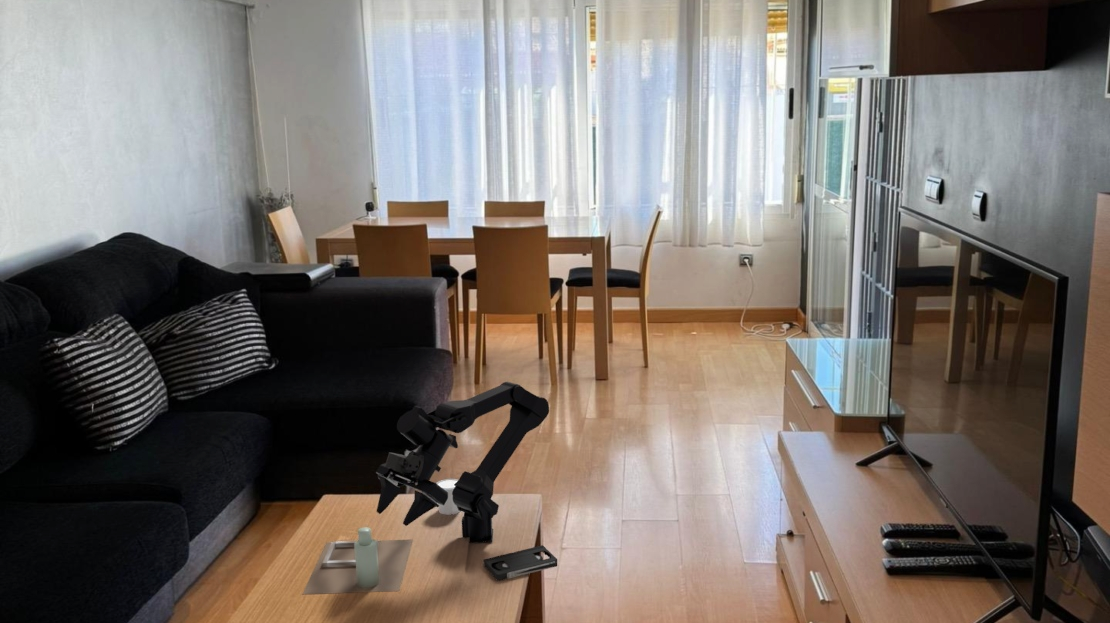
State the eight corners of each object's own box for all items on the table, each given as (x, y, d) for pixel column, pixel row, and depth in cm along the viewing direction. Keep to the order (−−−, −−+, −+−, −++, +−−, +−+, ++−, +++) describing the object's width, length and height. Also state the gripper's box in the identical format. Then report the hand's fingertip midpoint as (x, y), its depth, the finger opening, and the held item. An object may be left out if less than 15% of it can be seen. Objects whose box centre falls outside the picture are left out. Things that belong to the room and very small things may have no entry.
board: (413, 543, 228) (412, 535, 227) (399, 595, 204) (398, 586, 204) (326, 546, 228) (325, 538, 227) (302, 598, 204) (301, 590, 204)
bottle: (381, 577, 210) (377, 524, 208) (377, 587, 206) (373, 534, 203) (359, 577, 210) (355, 525, 208) (355, 588, 206) (351, 535, 203)
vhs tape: (497, 583, 209) (497, 574, 209) (484, 567, 216) (483, 559, 216) (558, 567, 215) (558, 559, 215) (543, 553, 222) (542, 545, 222)
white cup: (466, 504, 249) (465, 478, 247) (461, 516, 242) (459, 489, 240) (439, 504, 249) (438, 478, 248) (433, 515, 243) (432, 489, 241)
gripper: (380, 428, 217) (341, 490, 211) (434, 447, 204) (394, 514, 199) (410, 452, 224) (374, 513, 219) (465, 472, 211) (427, 537, 206)
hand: (391, 518), depth 210 cm, fingers open, 9 cm apart
